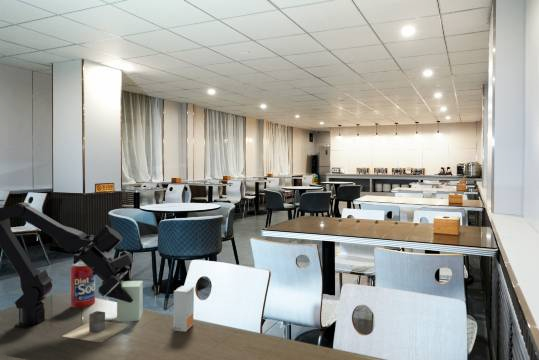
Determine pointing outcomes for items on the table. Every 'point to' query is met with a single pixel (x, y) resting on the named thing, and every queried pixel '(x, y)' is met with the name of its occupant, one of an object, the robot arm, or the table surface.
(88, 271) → the soda can
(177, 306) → the skincare box
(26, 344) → the table surface
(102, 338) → the birch base
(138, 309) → the pale green carton
